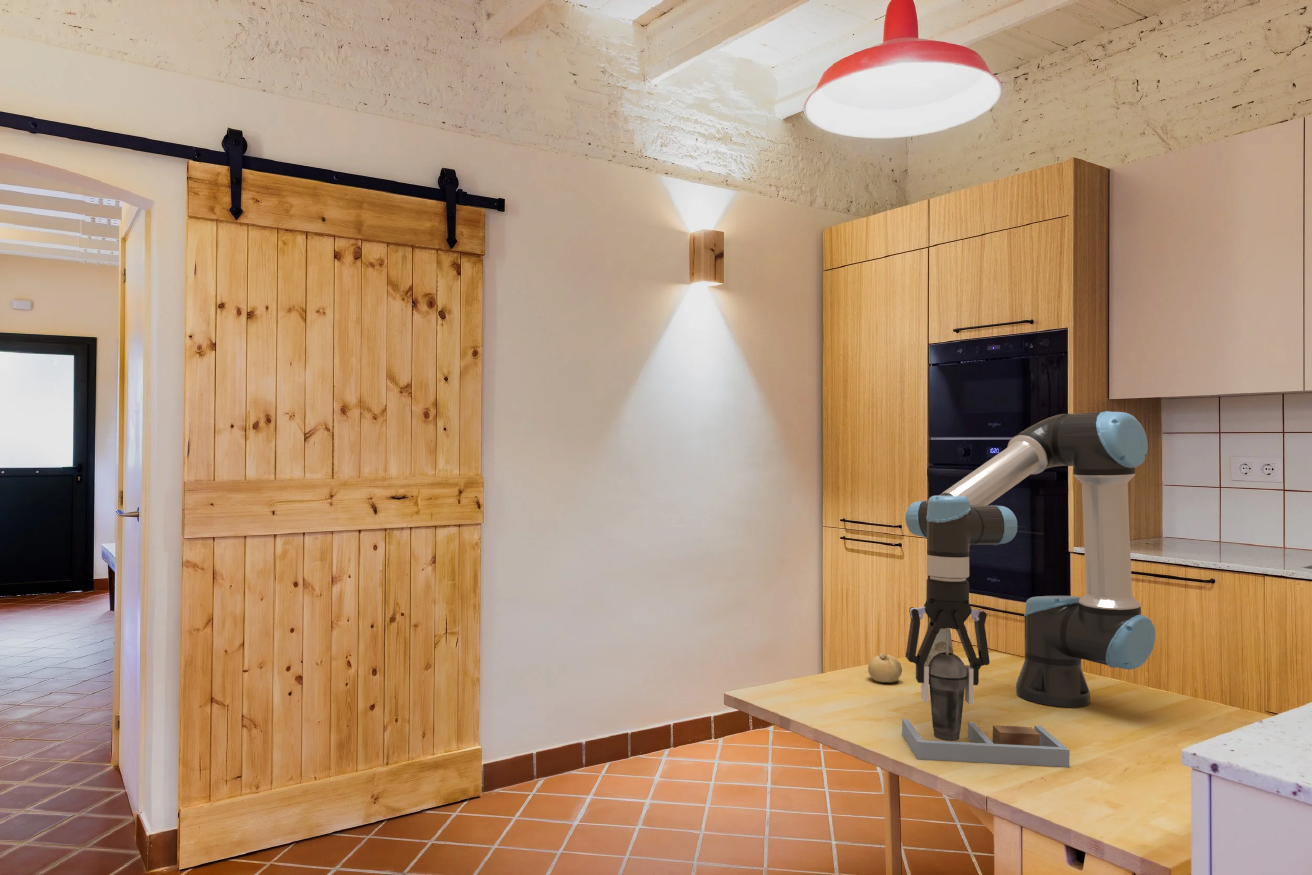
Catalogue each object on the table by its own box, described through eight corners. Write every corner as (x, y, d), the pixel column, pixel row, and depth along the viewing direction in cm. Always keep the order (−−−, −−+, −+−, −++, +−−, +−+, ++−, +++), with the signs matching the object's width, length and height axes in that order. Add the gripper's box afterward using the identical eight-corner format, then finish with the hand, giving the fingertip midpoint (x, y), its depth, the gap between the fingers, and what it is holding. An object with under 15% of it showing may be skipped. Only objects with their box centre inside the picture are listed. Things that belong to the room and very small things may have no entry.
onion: (863, 677, 198) (863, 648, 198) (893, 676, 199) (894, 648, 199) (875, 686, 190) (875, 656, 190) (907, 685, 191) (907, 655, 191)
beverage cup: (966, 733, 152) (967, 626, 152) (968, 745, 145) (969, 634, 145) (926, 728, 154) (926, 623, 155) (925, 740, 147) (926, 631, 148)
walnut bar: (1031, 748, 150) (1031, 726, 150) (1039, 756, 146) (1039, 734, 146) (992, 746, 151) (992, 725, 151) (999, 754, 147) (999, 732, 147)
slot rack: (1040, 741, 153) (1040, 725, 154) (1069, 766, 141) (1069, 749, 141) (901, 734, 156) (902, 718, 156) (917, 758, 143) (917, 741, 143)
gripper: (996, 576, 153) (996, 697, 152) (888, 573, 155) (887, 692, 154) (1010, 582, 146) (1009, 709, 145) (896, 579, 147) (895, 704, 147)
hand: (946, 700), depth 150 cm, fingers open, 7 cm apart
